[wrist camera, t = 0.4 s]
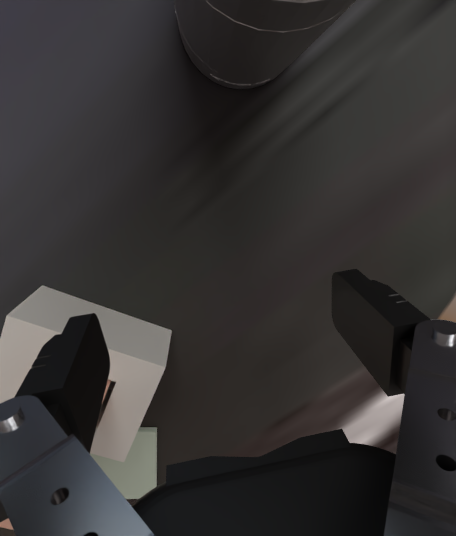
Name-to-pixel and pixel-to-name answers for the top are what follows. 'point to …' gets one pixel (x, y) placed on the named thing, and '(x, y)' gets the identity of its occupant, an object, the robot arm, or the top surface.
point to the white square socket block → (120, 352)
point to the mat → (134, 465)
